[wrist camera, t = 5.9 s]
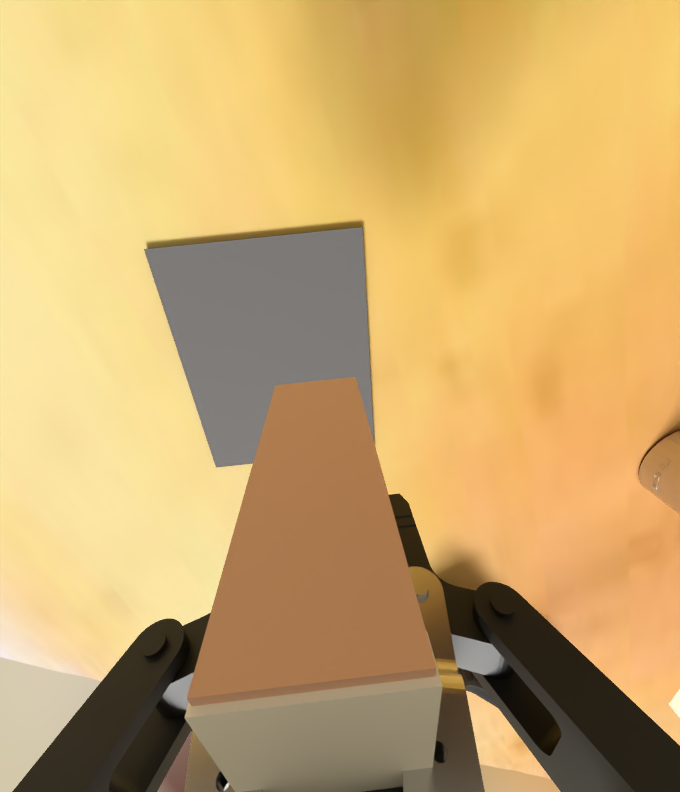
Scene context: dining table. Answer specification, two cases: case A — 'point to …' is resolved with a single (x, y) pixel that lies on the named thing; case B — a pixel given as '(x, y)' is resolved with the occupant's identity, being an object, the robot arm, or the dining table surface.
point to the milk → (676, 703)
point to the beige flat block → (316, 616)
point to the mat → (263, 325)
